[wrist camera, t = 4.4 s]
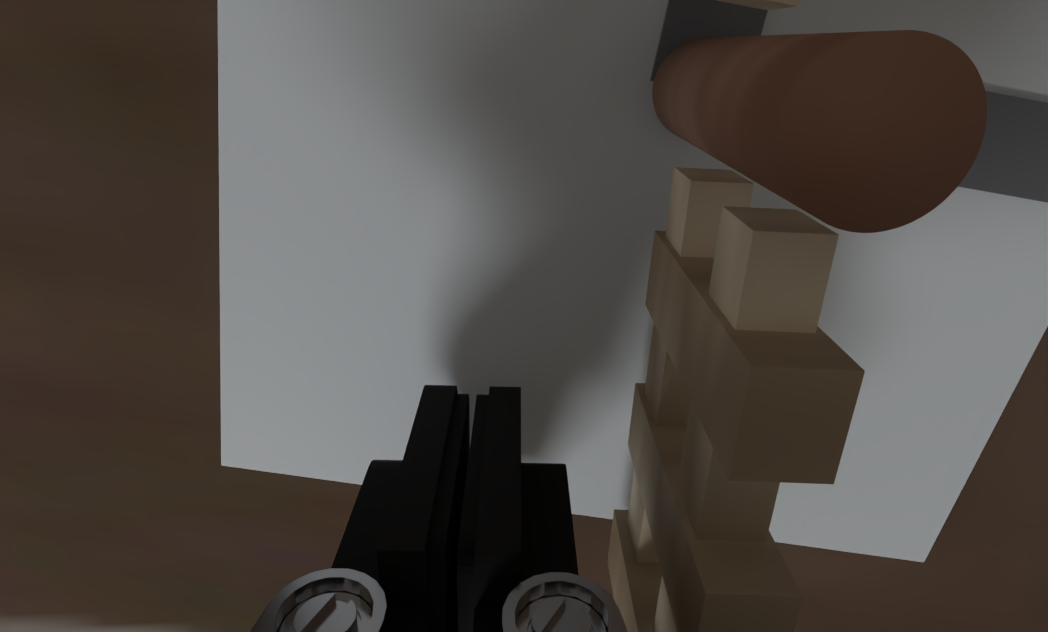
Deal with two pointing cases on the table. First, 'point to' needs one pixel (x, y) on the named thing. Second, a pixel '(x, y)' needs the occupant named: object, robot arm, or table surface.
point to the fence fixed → (765, 3)
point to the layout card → (586, 242)
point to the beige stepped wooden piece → (768, 298)
